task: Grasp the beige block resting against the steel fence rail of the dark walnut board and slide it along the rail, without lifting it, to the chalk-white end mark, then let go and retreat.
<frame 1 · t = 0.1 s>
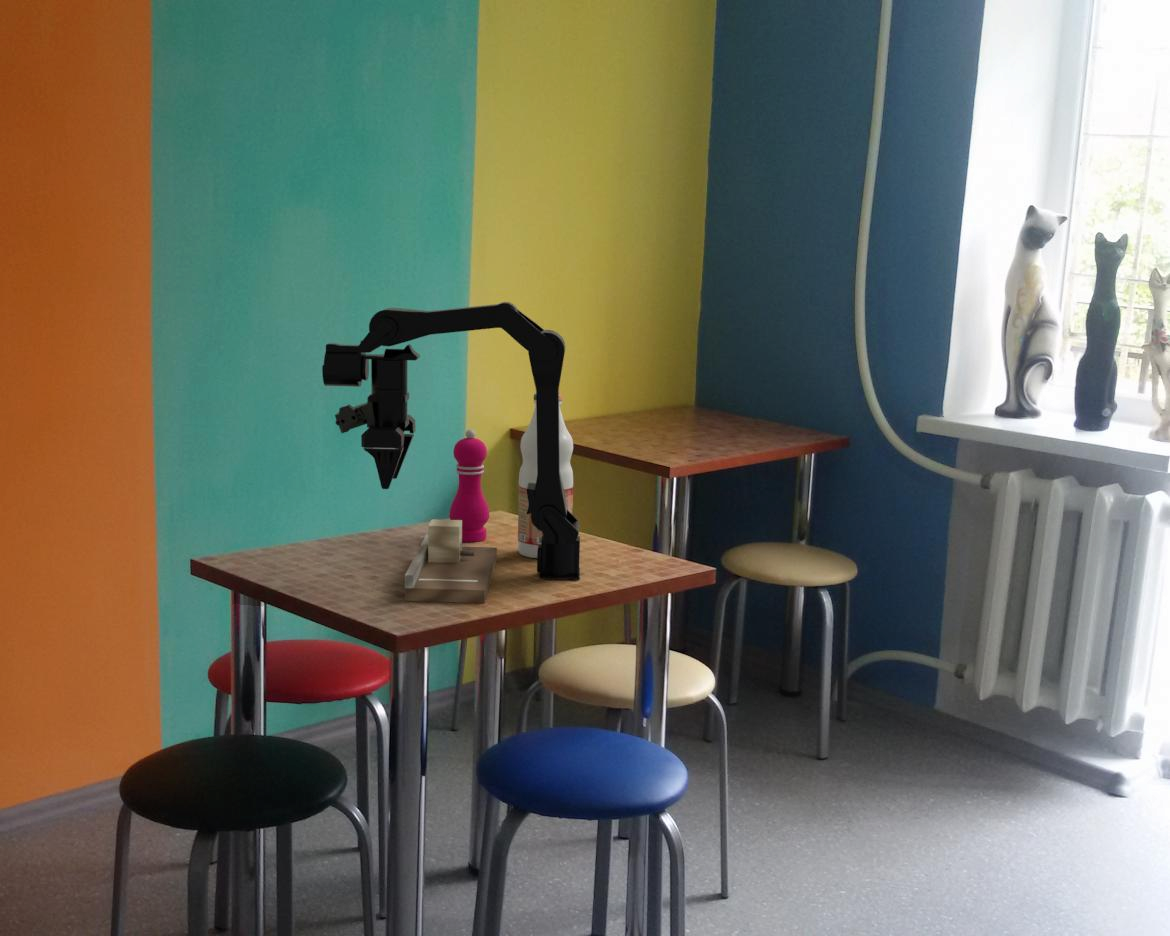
hand: (389, 483, 223), 14 cm above the table, tool pointing down, fingers open, 9 cm apart
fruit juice: (544, 554, 241), on the table
walnut board: (453, 578, 222), on the table
beige block: (445, 558, 226), point 2 cm above the table, touching walnut board
pepper mill: (469, 539, 250), on the table
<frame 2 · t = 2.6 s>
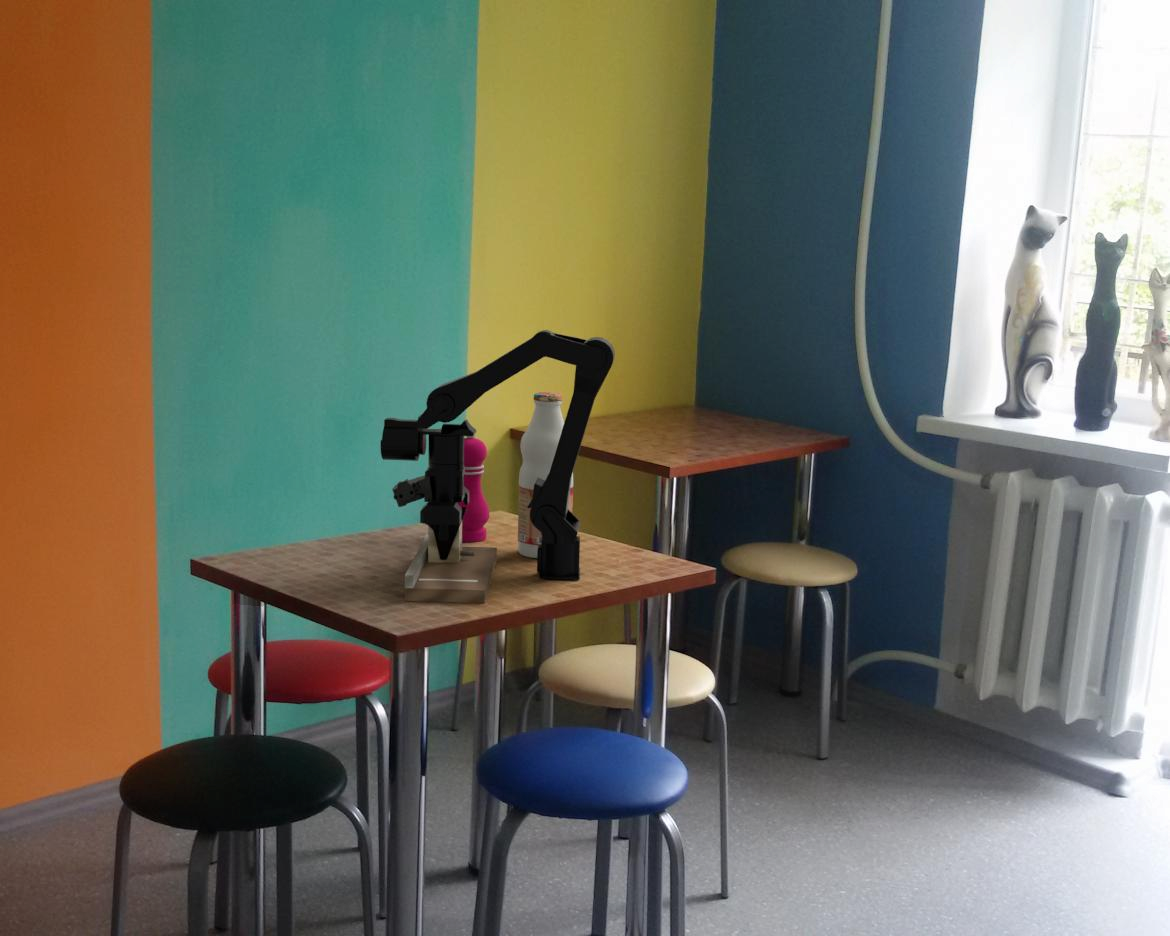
hand: (445, 555, 226), 3 cm above the table, tool pointing down, fingers closed on beige block, 5 cm apart
beige block: (445, 558, 226), point 2 cm above the table, touching gripper, walnut board
everything else where it was.
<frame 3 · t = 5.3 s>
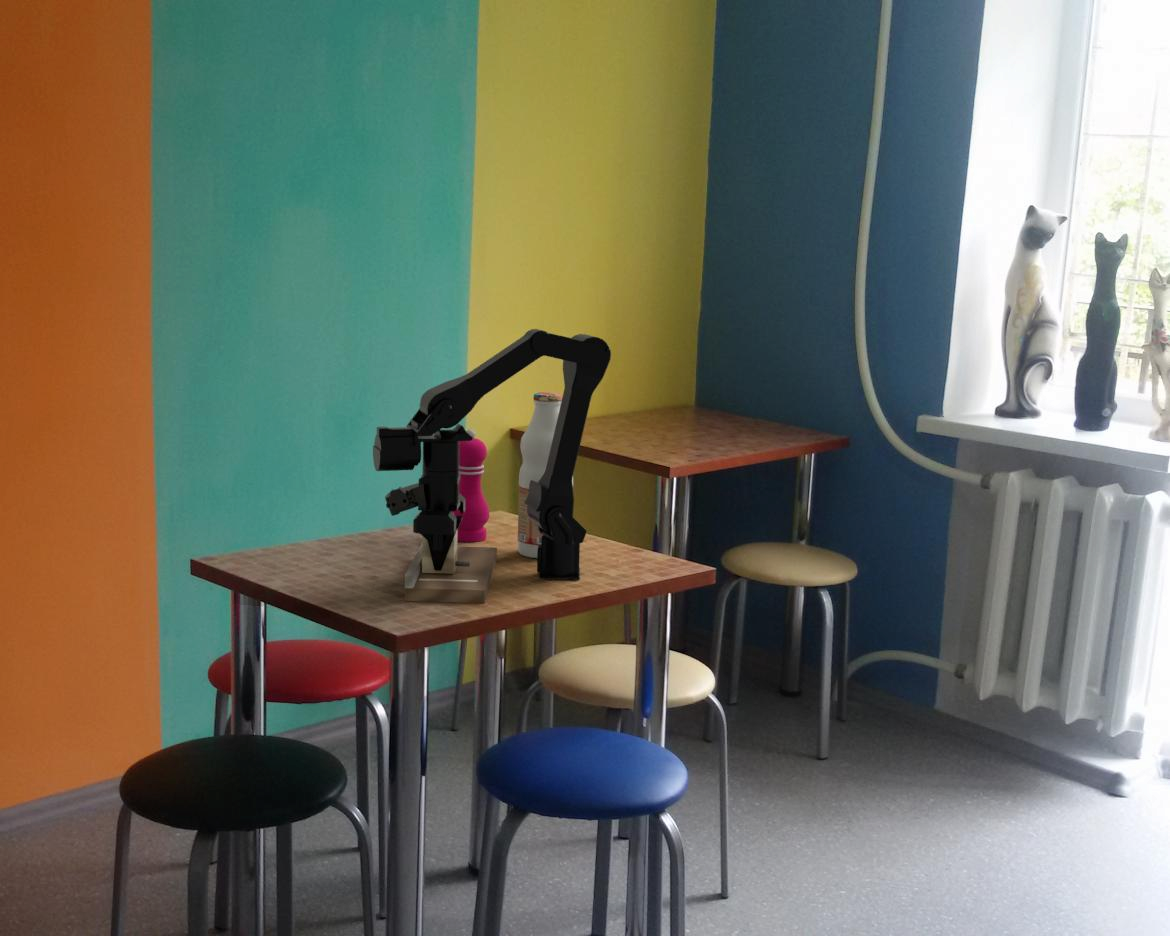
hand: (439, 566, 218), 3 cm above the table, tool pointing down, fingers closed on beige block, 5 cm apart
beige block: (439, 569, 219), point 2 cm above the table, touching gripper
everything else where it was.
when the fingers open (3 cm above the table, at t = 7.9 s): beige block stays where it is, resting on walnut board.
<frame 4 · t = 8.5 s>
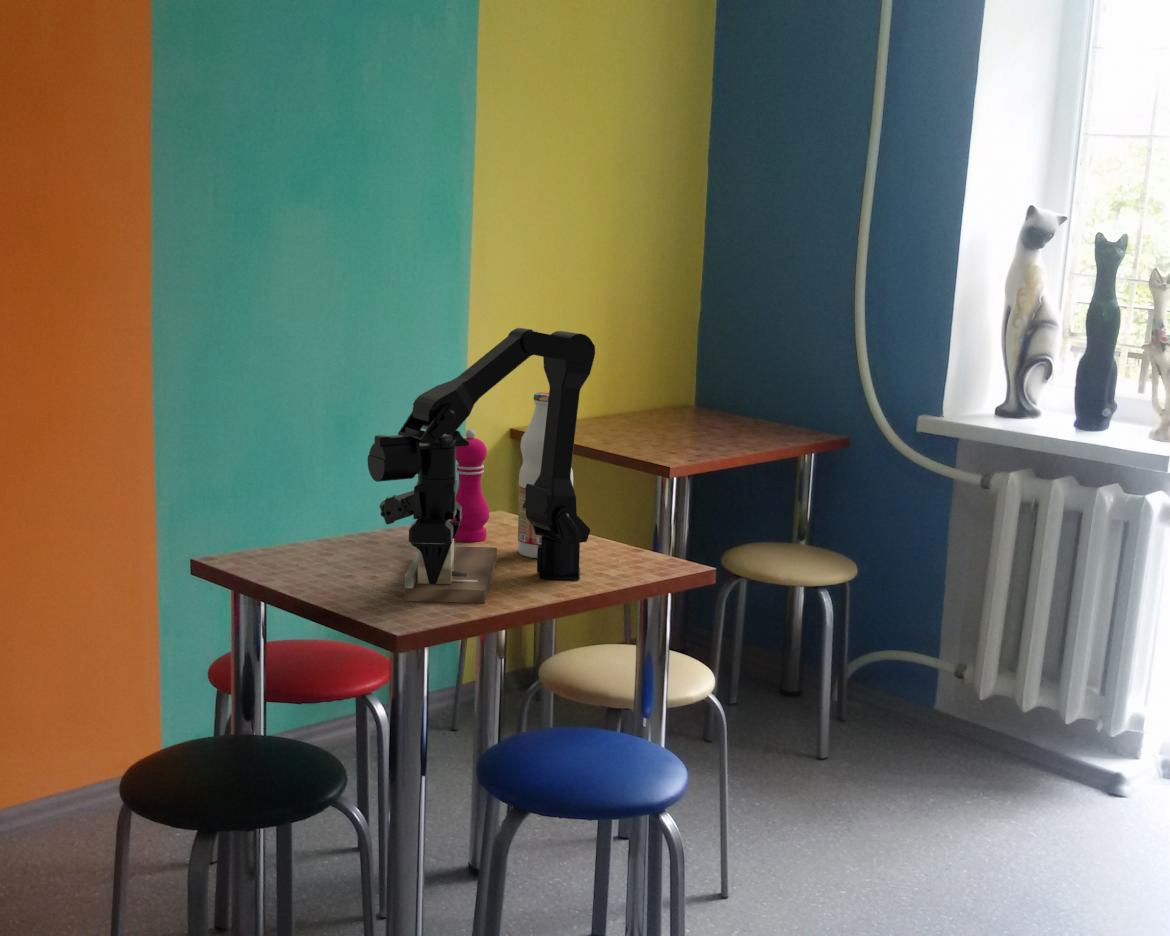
hand: (435, 576, 212), 3 cm above the table, tool pointing down, fingers open, 9 cm apart
beige block: (435, 579, 213), point 2 cm above the table, touching walnut board
everything else where it was.
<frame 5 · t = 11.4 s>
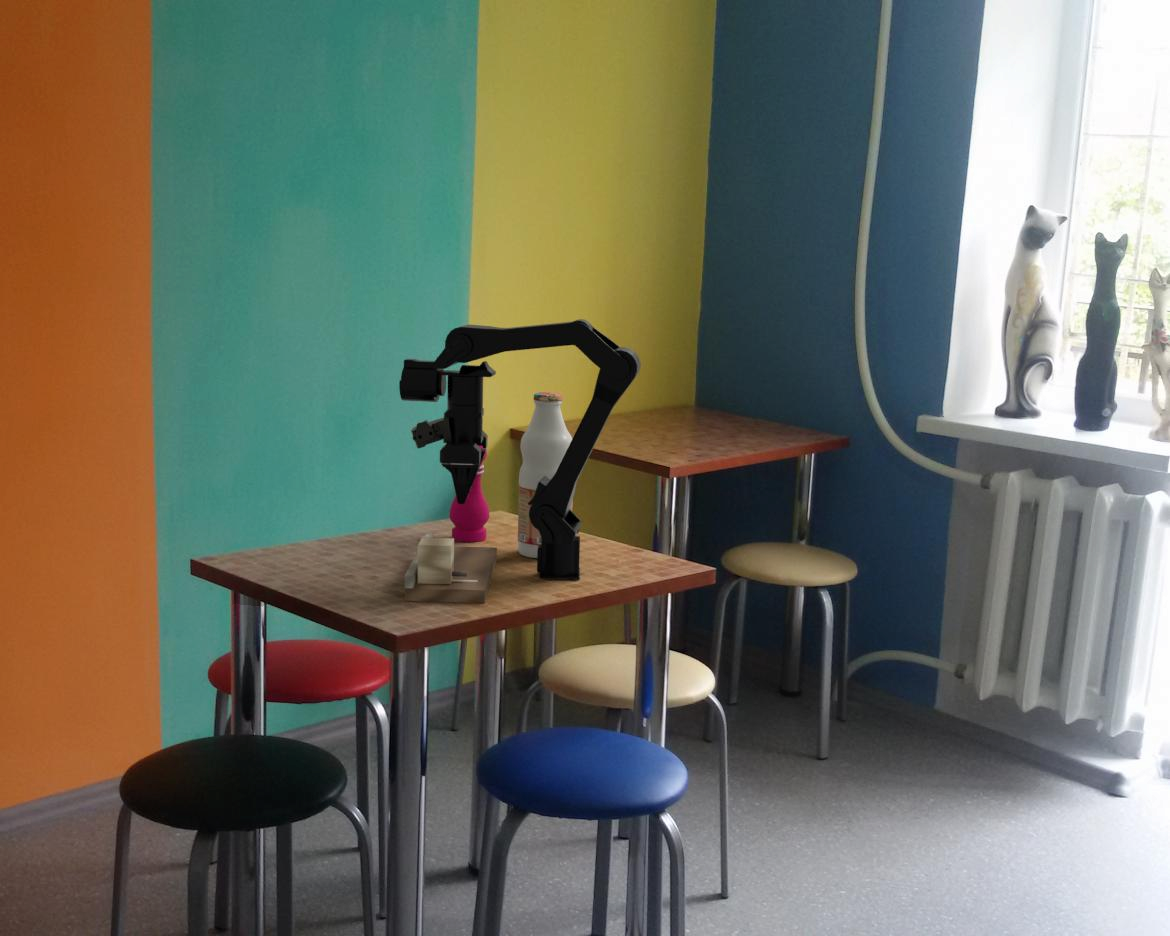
hand: (463, 498, 226), 12 cm above the table, tool pointing down, fingers open, 9 cm apart
nothing on the table moved.
at the end: beige block 0.1 cm from the target spot, point 2.1 cm above the table; beige block tilted 0°; the gripper is holding nothing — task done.
